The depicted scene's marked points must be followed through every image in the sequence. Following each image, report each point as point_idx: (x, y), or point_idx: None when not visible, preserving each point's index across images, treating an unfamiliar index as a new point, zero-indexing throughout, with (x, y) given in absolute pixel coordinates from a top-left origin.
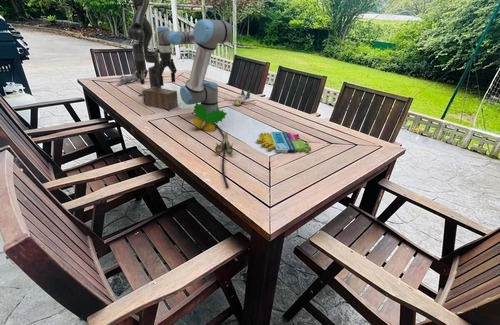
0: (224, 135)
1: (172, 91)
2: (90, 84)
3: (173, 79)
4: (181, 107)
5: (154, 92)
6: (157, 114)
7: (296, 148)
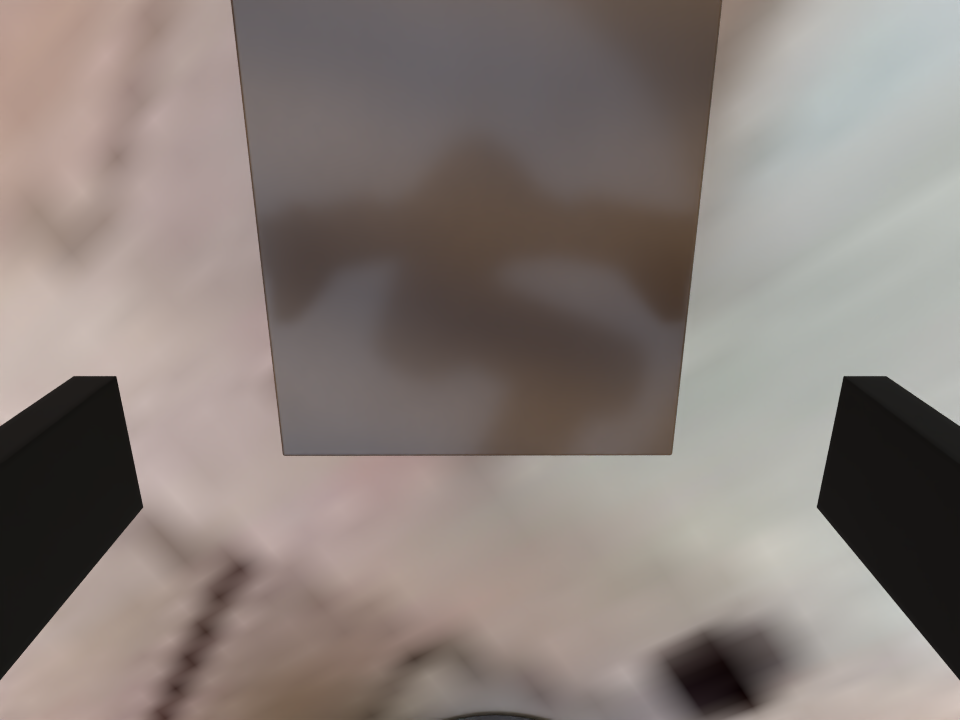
0: None
1: (571, 398)
2: None
3: (881, 530)
4: None
5: (237, 2)
6: (75, 313)
7: None
